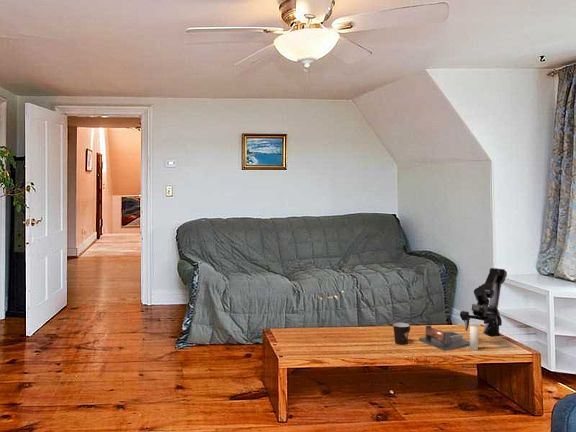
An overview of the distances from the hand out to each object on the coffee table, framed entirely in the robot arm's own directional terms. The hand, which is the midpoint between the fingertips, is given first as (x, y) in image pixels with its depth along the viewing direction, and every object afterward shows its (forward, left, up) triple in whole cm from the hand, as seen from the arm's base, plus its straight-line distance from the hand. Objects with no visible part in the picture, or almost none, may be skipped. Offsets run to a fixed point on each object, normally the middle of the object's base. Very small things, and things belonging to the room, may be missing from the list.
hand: (474, 331), depth 271 cm
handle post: (+1, +1, -9) cm, 9 cm away
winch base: (+10, -12, -9) cm, 18 cm away
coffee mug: (+32, -17, -9) cm, 37 cm away
